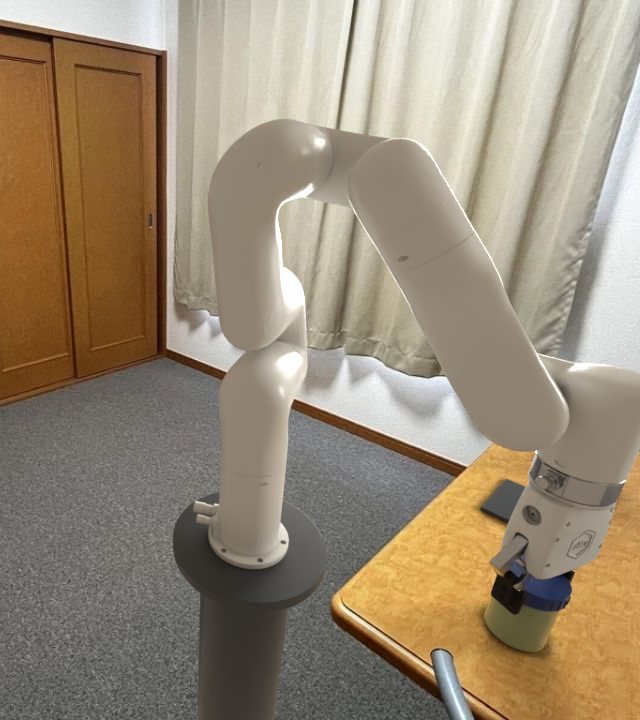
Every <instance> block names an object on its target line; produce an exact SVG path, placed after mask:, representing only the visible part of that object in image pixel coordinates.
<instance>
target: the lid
mask: <svg viewBox="0 0 640 720" xmlns="http://www.w3.org/2000/svg"><path fill="white" fill-rule="evenodd" d="M521 558H522V559H524V560H525V554H523V555H522V556H521ZM510 568H511V571H512V572H513V573H515V574H516V575H517V576H518V577H520V575H521V574H522V573H523V571H524V570H525V569H524V568H522V567H521V566H520V565H519V564H517V563H516V562H514V563H513V564H512V565H511V567H510ZM525 588H526V589H527V590H528V592H527V594H526V597H525V599H524V602H523V604H525V605H527V606H530V607H532V608H535V609H538V610H542V611H549V612H554V611H559V610H560V611H562V610H565V609H566V606H568V605H569V603H570V601H571V598H572V593H573V586H572V584H571V583H570V582H569V580H568V579H567V578H566V576H565V575H564V574H560V575H558V576H555V577H552V578H549V579H537V578H535V577H534V576H533V577H532V578H531V579H530V581H529V582H528V583H527V585H526V586H525Z"/></svg>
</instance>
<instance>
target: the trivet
mask: <svg viewBox="0 0 640 720" xmlns="http://www.w3.org/2000/svg"><path fill="white" fill-rule="evenodd" d="M525 488H526V486H525V485H523V484H520V483H518V482H515V481H513V480H510V479H508V478H505V479H504V481H502V482H501V484H500V485H499V486H498V488H496V490H494V492H493V493H492V494H491V495H490V496H489V498H488V499H486V501H485V502H484V503H483V505H481V507H480V511H482V512H483V513H486V514H488V515H491V516H493V517H495V518H497V519H499V520H501V521H503V522H505V523H508V522H509V520H510V518H511V515H512V513H513V511H514V509H515V507H516V505H517V503H518V501H519V499H520V497H521V495H522V493H523V491H524V489H525Z"/></svg>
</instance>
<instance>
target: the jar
mask: <svg viewBox="0 0 640 720" xmlns="http://www.w3.org/2000/svg"><path fill="white" fill-rule="evenodd" d="M560 612H561V610H559V611H554V612H549V611H542V610H538V609H535V608H532V607H530V606H527V605H525V604H522V607H521V610H520V612H519V614H516V615H513V614H512V613H511V612H509V611H508V610H507V609H506V608H505V607H504V606H503V605H501V604H500V603H499V602H498V601H497V600H496V599H494V598H493V597H492V595H491V594H490V598H489V600H488V603H487V606H486V609H485V610H484V615H483V616H484V617H483V618H484V622H485V624H486V626H487V628H488V630H489V631H490V632H491V633H492V634H493V635H494V636H495V637H496V638H497V639H498V640H500V641H501V642H502V643H504V644H505V645H507V646H509V647H511V648H514V649H516V650H518V651H522V652H525V653H526V652H527V653H536V652H539V651H542V650H543V649H544V647H545V646H546V644H547V641H548V639H549V637H550V634H551V632H552V630H553V628H554V626H555V623H556V621H557V620H558V617H559V615H560Z"/></svg>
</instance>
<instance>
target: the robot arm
mask: <svg viewBox="0 0 640 720" xmlns="http://www.w3.org/2000/svg"><path fill="white" fill-rule="evenodd" d="M299 198H304V199H308V200H309V199H310V200H314V201H317V202H322V203H326V204H330V205H335V206H339V207H344V208H349V209H352V210H353V212H354V214H355V215H356V217H357V219H358V221H359V222H360V224H361V225H362V227H363V229H364V230H365V233H366V234H367V236H368V237H369V239H370V241H371V242H372V244H373V246H374V247H375V249H376V251H377V252H378V253H379V256H380V257H381V259H382V261H383V262H384V264H385V265H386V267H387V269H388V271H389V272H390V274H391V276H392V278H393V279H394V281H395V283H396V284H397V286H398V288H399V290H400V291H401V293H402V295H403V297H404V298H405V300H406V302H407V304H408V306H409V310H411V313H412V315H413V318H414V320H415V321H416V323H417V325H418V327H419V328H420V330H421V332H422V334H423V335H424V336H425V339H426V340H427V342H428V344H429V346H430V348H431V350H432V353H433V354H434V356H435V358H436V361H437V362H438V364H439V366H440V368H441V370H442V371H443V374H444V375H445V377H446V379H447V381H448V383H449V384H450V386H451V388H452V390H453V391H454V393H455V395H456V396H457V398H458V400H459V401H460V403H461V405H462V406H463V408H464V410H465V412H466V413H467V415H468V417H469V418H470V420H471V421H472V423H473V425H474V426H475V428H476V429H477V430H478V431H479V432H480V434H481V435H482V436H484V437H485V438H486V439H487V440H488V441H489V442H490V443H493V444H494V445H495V446H498V447H499V448H500V447H501V448H502V449H506V450H509V451H514V452H521V453H531V452H534V456H533V458H532V461H531V464H530V467H529V469H528V472H527V479H528V481H529V482H527V484H526V486H525V487H526V488H525V489H524V491H523V493H522V495H521V497H520V499H519V501H518V503H517V505H516V507H515V509H514V511H513V513H512V515H511V518H510V520H509V522H507V525H506V527H505V531H504V533H503V537H502V540H501V545H500V551H498V553H496V555H494V557H492V558H491V559H490V561H489V566H491V568H492V569H493V571H494V572H495V574H496V576H495V579H494V582H493V584H492V585H493V586H492V587H491V591H490V596H491V595H492V597H493V598H494V599H496V600H497V601H498V602H499V603H500V604H501V605H503V606H504V607H505V608H506V609H507V610H508V611H509V612H511V613H512V614H513V615H516V614H519V612H520V610H521V607H522V604H523V602H524V599H525V597H526V594H527V592H528V590H527V589H526V588H525V586H526V585H527V583H528V582H529V581H530V579H531V578H532V577H533V576H534V577H535V578H537V579H549V578H552V577H555V576H558V575H560V574H564V575H565V576H566V578H567V579H568V580H569V582H570V584H571V583H572V582H573V581H572V580H573V579H574V576H575V575H576V572H575V571H576V570H578V569H579V568H581V567H584V566H586V565H588V564H591V563H592V562H594V561H595V560H596V559H597V558H598V556H599V554H600V552H601V551H602V547H603V545H604V541H605V539H606V537H607V534H608V531H609V528H610V526H611V522H612V519H613V515H614V512H615V510H616V509H615V507H616V505H617V502H618V499H619V497H620V495H621V493H622V490H623V488H624V486H625V484H626V482H627V480H628V477H629V476H630V475H629V474H630V473H631V470H632V468H633V466H634V464H635V462H636V460H637V457H638V455H639V453H640V372H637V371H634V370H632V369H628V368H625V367H620V366H615V365H611V364H610V365H609V364H603V363H579V362H578V363H577V362H575V361H569V360H566V359H562V358H557V357H553V356H549V355H546V354H542V353H538V352H537V350H536V348H535V347H534V345H533V343H532V342H531V339H530V338H529V336H528V334H527V333H526V331H525V329H524V327H523V325H522V323H521V322H520V319H519V317H518V316H517V313H516V311H515V310H514V307H513V306H512V304H511V301H510V299H509V297H508V294H507V291H506V288H505V286H504V282H503V281H502V277H501V275H500V273H499V271H498V269H497V267H496V265H495V263H494V261H493V258H492V256H491V255H490V254H489V251H488V250H487V248H486V247H485V244H484V243H483V242H482V240H481V239H480V237H479V235H478V233H477V232H476V230H475V228H474V226H473V225H472V223H471V221H470V220H469V218H468V216H467V214H466V212H465V210H464V209H463V208H462V206H461V204H460V202H459V200H458V199H457V197H456V196H455V194H454V191H453V190H452V189H451V186H450V184H449V183H448V181H447V179H446V178H445V176H444V174H443V172H442V171H441V169H440V167H439V166H438V164H437V162H436V161H435V159H434V158H433V155H432V154H431V152H430V151H429V150H428V149H427V148H426V147H425V146H424V145H423V144H422V143H420V142H419V141H416V140H413V139H410V138H406V137H405V138H404V137H403V138H402V137H398V138H397V137H396V138H392V137H382V136H375V135H369V134H364V133H358V132H353V131H346V130H342V129H337V128H331V127H325V126H320V125H316V124H311V123H308V122H304V121H300V120H297V119H290V118H279V119H273V120H269V121H267V122H266V121H265V122H262V123H260V124H258V125H256V126H254V127H253V128H251V129H250V130H248V131H246V132H245V133H244V134H242V135H241V136H240V137H238V139H236V140H235V141H234V142H233V143H232V144H231V145H230V147H228V148H227V150H226V151H225V152H224V153H223V155H222V156H221V157H220V159H219V161H218V162H217V164H216V166H215V168H214V170H213V173H212V176H211V179H210V183H209V186H208V193H207V213H208V223H209V232H210V239H211V248H212V258H213V259H212V262H213V273H214V274H213V275H214V283H215V293H216V294H215V295H216V303H217V313H218V315H217V316H218V322H219V327H220V330H221V332H222V334H223V337H224V338H225V339H226V340H227V342H228V343H229V344H230V345H232V346H233V347H235V348H236V349H239V350H241V351H245V352H243V354H242V355H240V357H239V358H238V359H237V360H236V361H235V362H234V363H233V364H232V365H231V366H230V368H229V369H228V370H227V372H226V373H225V375H224V377H223V378H222V380H221V382H220V386H219V389H218V394H217V404H218V407H217V408H218V412H219V413H218V414H219V420H220V421H219V422H220V469H219V492H220V493H219V504H214V505H209V504H206V503H203V502H199V501H196V500H195V501H194V502H195V504H194V508H193V512H194V513H198V515H197V519H196V522H197V523H200V524H206V525H209V530H208V539H209V543H210V545H211V547H212V549H213V550H214V552H215V553H216V554H217V555H218V556H219V557H220V558H221V559H223V560H224V561H226V562H227V563H229V564H232V565H234V566H237V567H240V568H245V569H263V568H268V567H270V566H273V565H275V564H277V563H278V562H280V561H281V560H282V559H283V558H284V556H285V554H286V553H287V549H288V543H289V539H288V534H287V531H286V529H285V528H284V526H283V525H282V523H281V522H280V520H281V511H282V501H283V500H284V491H285V481H286V471H287V459H288V449H289V448H288V447H289V417H290V412H291V408H292V405H293V402H294V400H295V398H296V396H297V395H298V392H299V390H300V389H301V387H302V385H303V384H304V381H305V379H306V376H307V372H308V336H307V316H306V315H307V314H306V300H305V299H306V298H305V294H304V290H303V287H302V284H301V282H300V280H299V279H298V277H297V275H295V274H294V273H293V272H292V271H291V270H289V269H288V268H286V267H284V266H283V244H282V236H281V231H280V226H279V219H278V217H279V211H280V208H281V207H282V205H284V204H285V203H286V202H289V201H291V200H296V199H299ZM200 514H202V515H200ZM204 514H205V515H209V516H211V517H207V516H204ZM523 554H525V560H524V559H522V558H521V556H522V555H523ZM514 562H516V563H517V564H519V565H520V566H521V567H522V568H524V569H525V570H524V571H523V573H522V574H521V575H520V577H518V576H517V575H516V574H515V573H513V572H512V571H511V568H510V567H511V565H512V564H513V563H514Z"/></svg>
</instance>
